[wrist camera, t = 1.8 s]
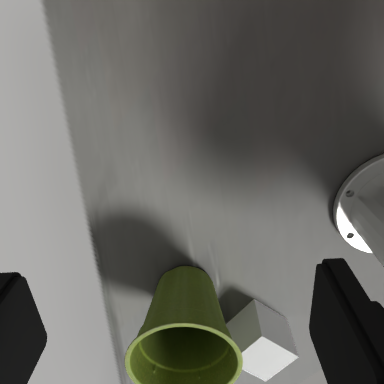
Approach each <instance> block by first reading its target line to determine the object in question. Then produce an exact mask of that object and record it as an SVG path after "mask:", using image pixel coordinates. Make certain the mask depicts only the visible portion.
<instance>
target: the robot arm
mask: <svg viewBox="0 0 384 384" xmlns="http://www.w3.org/2000/svg"><path fill="white" fill-rule="evenodd" d="M333 219H334V222H335V226H336V228H337V230H338V231H339V233H340V234H341V236H342V237H343V239H344V240H345V241H346V242H348V243H349V244H350V245H351V246H353V247H355V248H357V249H359V250H361V251H365V252H368V253H373V254H374V255H375V256H376V258H377V259H378V260H379V262H380V263H381V264H382V265H383V267H384V154H382V155H379V156H377V157H375V158H372V159H371V160H369V161H367V162H366V163H364V164H362V165H361V166H360V167H358V168H357V169H356V170H355V171H353V172H352V173H351V175H350V176H349V177H348V178H347V179H346V180H345V181H344V183H343V184H342V186H341V188H340V189H339V191H338V193H337V196H336V198H335V202H334V207H333ZM309 330H310V336H311V339H312V342H313V344H314V347H315V350H316V353H317V356H318V358H319V361H320V364H321V367H322V369H323V372H324V375H325V378H326V380H327V383H328V384H384V308H383V307H382V306H381V304H380V303H378V302H377V301H370V299H369V297H368V296H367V294H366V293H365V291H364V289H363V288H362V286H361V285H360V283H359V281H358V280H357V278H356V277H355V275H354V274H353V272H352V270H351V269H350V267H349V266H348V264H347V262H346V261H345V260H344V259H343V258H335V259H323V261H322V264H317V266H316V273H315V282H314V290H313V298H312V306H311V315H310V323H309ZM46 342H47V333H46V331H45V328H44V325H43V323H42V320H41V317H40V315H39V312H38V309H37V307H36V304H35V301H34V299H33V296H32V293H31V291H30V288H29V286H28V283H27V280H26V278H25V277H22V276H21V275H20V274H19V273H18V272H12V273H0V384H27V383H28V381H29V379H30V377H31V375H32V373H33V370H34V368H35V366H36V364H37V362H38V360H39V358H40V356H41V354H42V352H43V350H44V348H45V346H46Z"/></svg>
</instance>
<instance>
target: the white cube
mask: <svg viewBox="0 0 384 384" xmlns="http://www.w3.org/2000/svg"><path fill="white" fill-rule="evenodd" d="M226 327H227V328H228V330H229V332H230V334H231V337H232V340H233V341H234V342H235V343H236V344H237V346H238V347H239V349H240V351H241V354H242V357H243V367H242V370H244V371H246V372H248V373H250V374H252V375H254V376H256V377H258V378H260V379H261V380H263V381H265V382H266V381H267V380H268V379H270V378H271V377H272V376H274V375H275V374H276V373H278V372H279V371H281V370H282V369H283V368H285V367H286V366H287V365H289V364H290V363H291V362H293V361H294V360H295V359H297V358H298V357H299V356H298V353H297V350H296V346H295V343H294V340H293V337H292V333H291V330H290V327H289V324H288V320H287V318H285V317H284V316H282V315H280V314H279V313H277V312H275V311H274V310H272V309H270V308H269V307H267V306H265V305H264V304H262V303H260V302H259V301H257V300H255V299H253V300H252V301H251V302H250V303H249V304H248V305H247V306H246V307H245V308H243V309H242V310H241V311H240V312H239V313H238V314H237V315H236V316H235V317H233V318H232V319H231V320H230V321H229V322H228V323H227V324H226Z"/></svg>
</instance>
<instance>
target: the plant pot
mask: <svg viewBox="0 0 384 384" xmlns="http://www.w3.org/2000/svg"><path fill="white" fill-rule="evenodd" d="M242 367H243V357H242V354H241V351H240V349H239V347H238V346H237V344H236V343H235V342H234V341H233V340H232V337H231V334H230V332H229V330H228V328H227V327H226V324H225V321H224V318H223V314H222V311H221V308H220V305H219V301H218V298H217V295H216V292H215V288H214V285H213V282H212V280H211V279H210V277H209V276H208V275H207V274H206V273H205V272H204V271H203V270H200V269H198V268H196V267H191V266H180V267H176V268H175V269H172V270H170V271H167V272H166V273H164V275H163V276H162V277H161V278H160V280H159V283H158V285H157V288H156V291H155V294H154V297H153V299H152V302H151V305H150V308H149V310H148V313H147V316H146V319H145V322H144V324H143V326H142V327H141V329H140V331H139V333H138V336H137V337H136V338H135V339H134V340H133V342H132V343H131V344H130V346H129V347H128V349H127V352H126V355H125V368H126V371H127V373H128V375H129V377H130V378H131V380H132V381H133V382H134V383H135V384H233V383H234V382H235V381H236V380H237V379H238V377H239V375H240V373H241V371H242Z"/></svg>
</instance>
